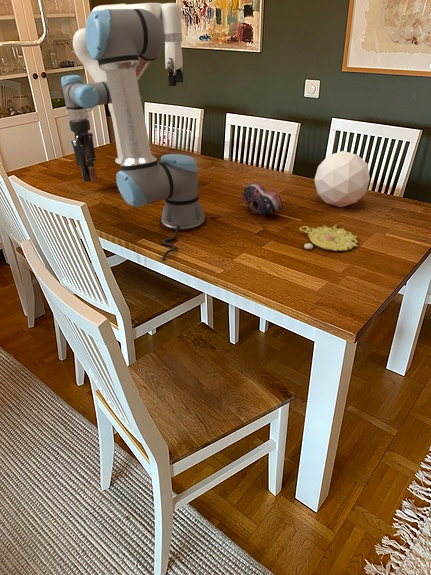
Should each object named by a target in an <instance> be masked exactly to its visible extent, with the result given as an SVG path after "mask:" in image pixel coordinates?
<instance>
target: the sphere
mask: <svg viewBox="0 0 431 575" xmlns="http://www.w3.org/2000/svg"><path fill="white" fill-rule="evenodd" d="M370 180H371V177H370V170H369V165H368V163H367V162H366V161H365V160H364V159H363V158H362V157H361V156H359V155H358V154H357V153H352V152H350V151H349V152H348V151H345V150H341V151H338V152H335V153H331V154H328V155H327V156H326V157H325V158H324V159H323V160H322V161H321V163H319V165H318V166H317V169H316V173H315V176H314V179H313V181H314V185H315V190H316V193H317V195H318V196H319V197H320V199H322V201H324V202H325V204H327V205H330V206H335V207H338V208H343V207H347V206H350V205H353V204H356V203H357V202H358V201H359V200H360V199H361V198H363V197H364V196H365V195H366V194H367V192H368V188H369V184H370Z"/></svg>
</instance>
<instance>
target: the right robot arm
mask: <svg viewBox="0 0 431 575" xmlns="http://www.w3.org/2000/svg"><path fill="white" fill-rule="evenodd" d="M91 12H92V11H91ZM91 12H90V13H89V15H88V17H87V19H86V22H85V28H86V30H85V37H86V46H87V50H88V52H89V55H90V57H91V58H92V59H94V60H98V64H99V68H101V69H102V70H103V71H104V72H105V73H106V76H107V81H105V82H97V83H95V82H90V83H84V81H83V79H82V76H81V75H78V74H69V75H63V76H62V77H61V78H60V82H61V89H62V94H63V98H64V103H65V107H66V108H65V109H66V113H67V117H68V120H69V122H68V123H69V128H70V131H71V132H72V133H74V140H71V142H70V143H71V145H72V148H73V152H74V157H75V161H76V165H77V166H79V167H80V168H81V169H82V172H81V175H82V174H83V177H82V180H83V179H84V181H83V182H92V181H91V180H90V174H89V169H88V167H95V163H94V162H96V150H95V145H94V139H93V138H94V134H93V133H92V132H89V131H91V123H90V120H89V117H90V116H89V112H88V109H94V108H95V107H96V106H97V107H98V106H102V105H108V104H111V103H112V105H113V110H114V115H115V119H116V124H117V129H118V134H119V138H120V143H121V148H122V153H123V157H124V158H123V160H122V162H121V164H119V166H120V170H119V171H118V172H117V173H116V175H115V176H116V177H115V181H116V186H117V188H118V191H119V192H120V196H121V197H122V198H123V200H124V201H125V202H126V203H127V204H128V205H129V206H130V207H132V208H137V207H142V206H143V207H144V206H147V205H149V204H153V203H158V202H160V201H164V204H163V209H162V213H161V219H160V220H161V225H162V227H163V228H165V229H167V230H170V231H174V234H173V236H172V237H168V238H164V239H163V240H162V244H163V245H165V246H168V247H172V248H171V249H168V250H166V251H165V252H164V253H163V255H162V258H161V262H164V261H165V260H166V257H167V255H168V254H170V253H171V252H174V251H176V245H175V244H173V243H171V241H174V240H175V239H176V238H177V237H178V233H179V232H185V231H186V232H187V231H192V230H195V229H198V228H201V227H202V226H203V225H204V224H205V223H206V217H205V212H204V210H203V208H202V204H201V202H200V196H199V176H198V173H199V170H198V164H197V163H198V162H197V160H196V159H195V158H194V157H192V156H191V155H190V156H189V155H187V154H186V155H185V154H178V153H177V154H175V153H171V154H165V155H164V154H163V155H162V156H160V162H158V158H157V157H156V156H154V155H153V153H152V152H151V146H150V141H149V136H148V129H147V125H146V119H145V114H144V107H143V102H142V96H141V93H140V86H139V81H138V80H140V78H141V76H142V75H143V73H144V72H145V70H146V69H147V67H148V66H149V65H150V63H151V62H155V61H156V60H157V59H158V58H159V57H160V55H161V54H162V52H163V50H164V49H165V32H164V28H163V24H161V22H160V21H159V19H158V18H157V17H156V16H155V15H154V14H153V13H151V12H149V11H147V10H144V9H105V10H99V11H93V12H92V13H91ZM81 169H80V170H81Z"/></svg>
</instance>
